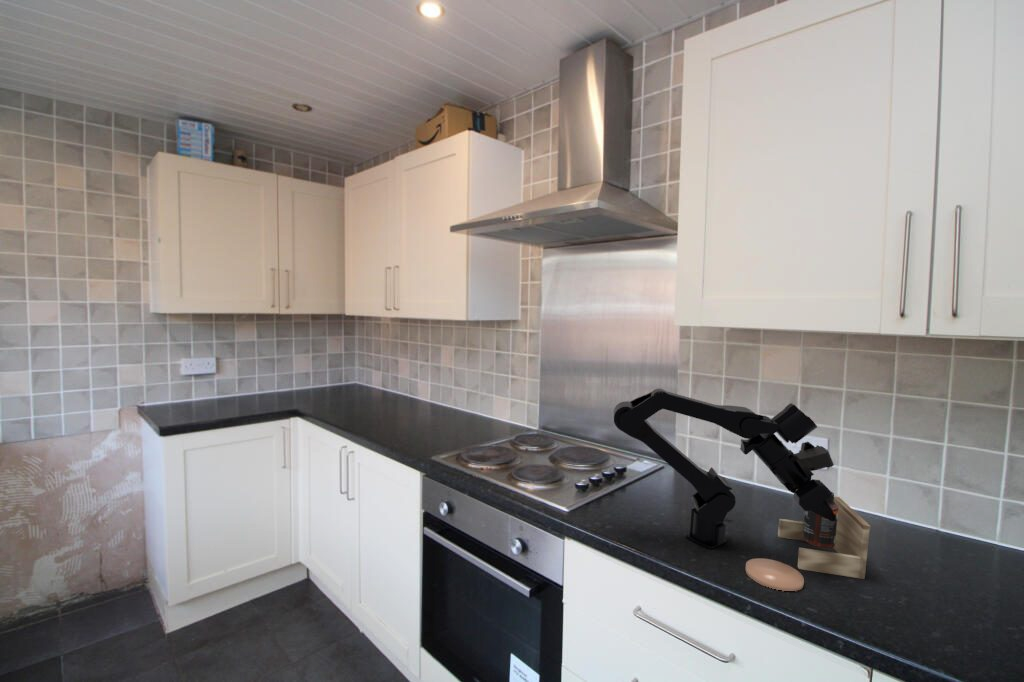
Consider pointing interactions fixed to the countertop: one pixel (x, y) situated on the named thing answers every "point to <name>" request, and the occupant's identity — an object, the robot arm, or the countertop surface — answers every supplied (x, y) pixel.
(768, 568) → the peach rounded disc
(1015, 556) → the countertop surface
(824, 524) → the supplement bottle
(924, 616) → the countertop surface
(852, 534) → the wooden bench
